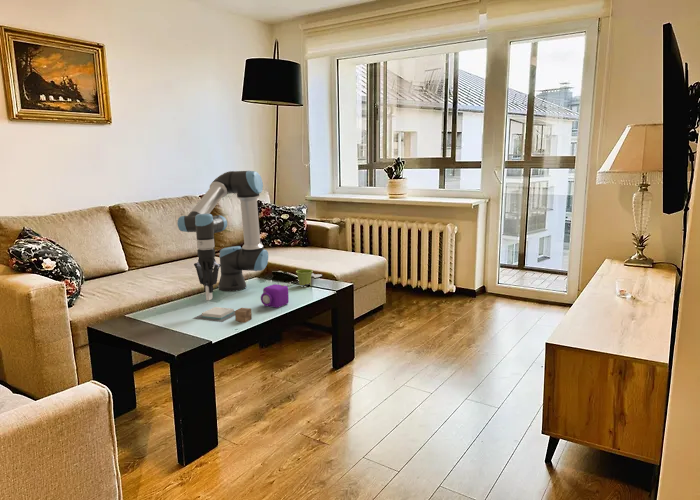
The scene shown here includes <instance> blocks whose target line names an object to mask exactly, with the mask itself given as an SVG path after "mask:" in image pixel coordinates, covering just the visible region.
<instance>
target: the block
mask: <svg viewBox="0 0 700 500" xmlns="http://www.w3.org/2000/svg"><path fill="white" fill-rule="evenodd" d="M234 311H235V316H234V317H235V321H236V322H238V323H245V324H246V323H247V322H249V321H251V320H252V319H253V317H252V308H248V307H240V308H238V309H236V310H234Z"/></svg>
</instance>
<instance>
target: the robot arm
mask: <svg viewBox="0 0 700 500" xmlns="http://www.w3.org/2000/svg"><path fill="white" fill-rule="evenodd" d="M263 188H264V184H263V179H262V176H261V175H260V173H259V172H258V171H255V170H235V171H234V170H232V171H231V170H230V171H226V172H224V173H222V174H220V175H219V176H216V178H215V179H214V180H213V181H212V182H211V183H210V184H209V189H208V190H207V191H206V192H205V194H204V195H203V196H202V197H201V198H200V200H199V201H198V202H197V203H196V205H194V207H193V208H192V209H191V210H190V212H189V213H188V214H187V215H182V216H179V217H178V218H177V223H176V224H177V225H176V226H177V228H178V230H179V231H180V232H182V233H183V232H186V233H196V234H195V235H196V248H197V257H198V260H197V261H196V263H194V264H193V266H194V267H195V270H196V273H197V276H198V277H197V278H198V281H199V284H200V285H203V288H204V291H203V292H204V293H205V299H206V301H211V300H212V299H213V293H214V285H216V284H218V285H217V286H218V287H217V288H218V290H219V291H221V292H236V290H238V291H242V290H244V289H243V288H245V287H246V288H247V282H246V280H245V277H244V274H243V271H250V272H252V271H253V272H261V271H264V270H265V268H267V265H268V262H269V252H268V250H267V249H265V248H264V245H263V244H262V243H261V235H260V234H261V233H260V232H261V231H260V222H259V209H258V198H259V197H260V194H261V193H262V192H263ZM229 194H236V197H237V199H238V200H239V201H240V208H241V209H240V211H241V223H242V231H243V233H242V234H243V243H244V244H243V245H242V247H241V245H236V246H228V247H224V248H221V249H220V250H219V257H218V258H219V263H217V261H216V259H215V257H216V250H215V234H216V233H221V232H223V231H224V230H226V229H227V227H228V220H227V218H226V217H225V216H223V215H213V214H211V212H212V211H213V210H214V208H215V207H216V206H217V205H218V203H219V202H220V201H221V199H223V198H225V197H227V195H229ZM219 269H220V278H219V282H218V277H219ZM246 288H245V289H246ZM241 289H242V290H241Z"/></svg>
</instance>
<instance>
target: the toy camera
mask: <svg viewBox="0 0 700 500" xmlns="http://www.w3.org/2000/svg"><path fill="white" fill-rule="evenodd" d="M262 291H263V292H262V294H260V295H261V296H260V301H261V303H262V305H263V306H265V307H270V308H276V309H277V308H280V307H284V306H286V305H287V304H289V303H290V302H289V286H288V285H285V283H284V284H283V283H282V284H276V283H275V284H271V285H267V286H265V287H264V288H263V289H262Z"/></svg>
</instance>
